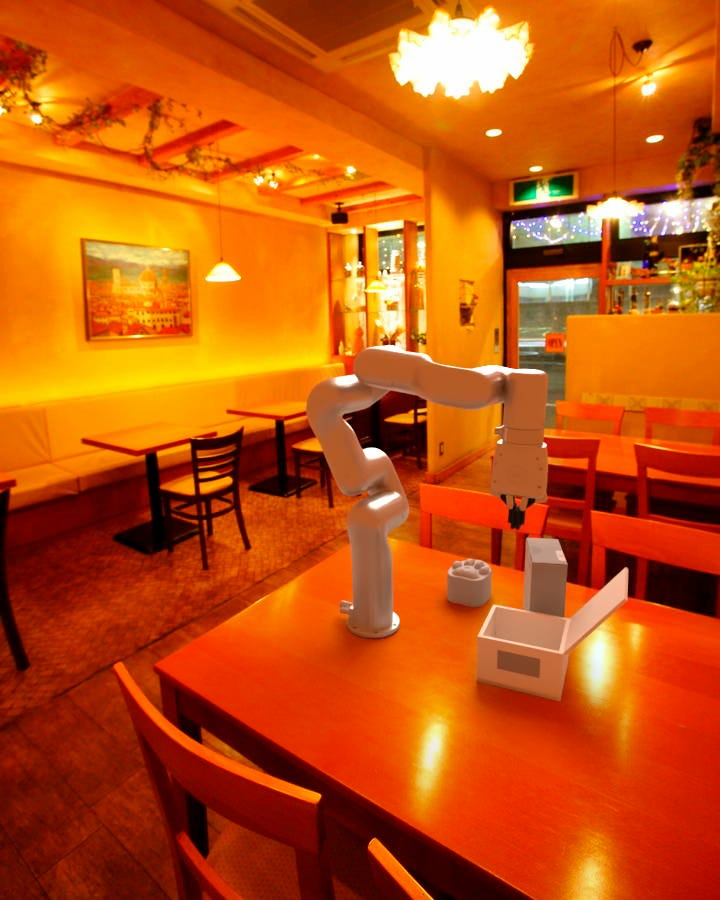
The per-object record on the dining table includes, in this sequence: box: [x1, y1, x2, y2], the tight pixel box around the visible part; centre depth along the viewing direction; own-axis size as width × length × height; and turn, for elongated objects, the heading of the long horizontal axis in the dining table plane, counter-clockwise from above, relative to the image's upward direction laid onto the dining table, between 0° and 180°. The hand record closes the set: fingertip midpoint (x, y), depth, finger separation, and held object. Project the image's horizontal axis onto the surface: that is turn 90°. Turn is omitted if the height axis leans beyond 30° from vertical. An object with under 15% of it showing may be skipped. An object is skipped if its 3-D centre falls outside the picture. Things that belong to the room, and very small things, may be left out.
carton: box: [476, 604, 571, 702], centre depth 116 cm, size 16×14×10 cm
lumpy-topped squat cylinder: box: [446, 558, 492, 608], centre depth 150 cm, size 10×13×9 cm
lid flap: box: [563, 566, 629, 655], centre depth 108 cm, size 16×14×1 cm
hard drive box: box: [522, 537, 569, 618], centre depth 131 cm, size 16×8×20 cm, turn 168°
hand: (515, 527), depth 112 cm, fingers closed
